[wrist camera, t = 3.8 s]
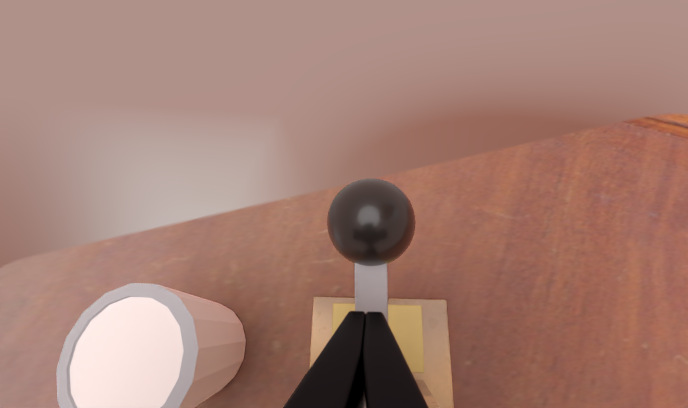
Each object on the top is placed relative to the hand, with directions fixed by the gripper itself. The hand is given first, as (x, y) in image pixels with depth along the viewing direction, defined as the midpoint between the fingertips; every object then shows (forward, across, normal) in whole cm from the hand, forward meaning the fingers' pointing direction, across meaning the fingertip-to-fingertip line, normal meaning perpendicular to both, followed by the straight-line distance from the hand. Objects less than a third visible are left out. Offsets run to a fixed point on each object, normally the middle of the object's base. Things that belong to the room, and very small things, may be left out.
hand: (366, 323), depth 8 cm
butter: (+8, 0, +9) cm, 12 cm away
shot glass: (+8, +11, +11) cm, 18 cm away
